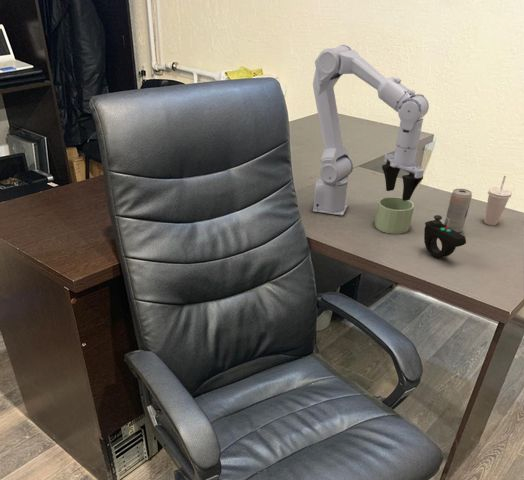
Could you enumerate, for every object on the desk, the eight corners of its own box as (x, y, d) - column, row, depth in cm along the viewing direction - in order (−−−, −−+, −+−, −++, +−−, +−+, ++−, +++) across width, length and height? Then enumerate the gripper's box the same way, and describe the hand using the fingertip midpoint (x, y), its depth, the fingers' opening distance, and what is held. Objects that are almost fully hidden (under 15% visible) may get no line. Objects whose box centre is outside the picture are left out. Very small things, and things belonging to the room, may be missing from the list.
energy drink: (461, 229, 153) (472, 189, 146) (461, 237, 149) (472, 196, 142) (443, 227, 154) (453, 187, 147) (441, 234, 150) (451, 193, 143)
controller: (428, 245, 145) (436, 211, 139) (461, 265, 136) (472, 229, 130) (416, 249, 143) (424, 214, 137) (449, 268, 135) (459, 232, 128)
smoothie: (502, 220, 159) (517, 174, 150) (500, 228, 154) (516, 182, 146) (480, 216, 161) (494, 171, 152) (478, 224, 156) (491, 178, 148)
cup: (372, 230, 151) (376, 207, 147) (377, 217, 159) (380, 194, 155) (407, 236, 149) (412, 212, 145) (410, 222, 157) (415, 199, 152)
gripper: (378, 139, 144) (371, 188, 152) (411, 155, 133) (402, 206, 142) (399, 136, 146) (391, 184, 154) (433, 152, 136) (422, 202, 144)
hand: (397, 195), depth 148 cm, fingers open, 7 cm apart
